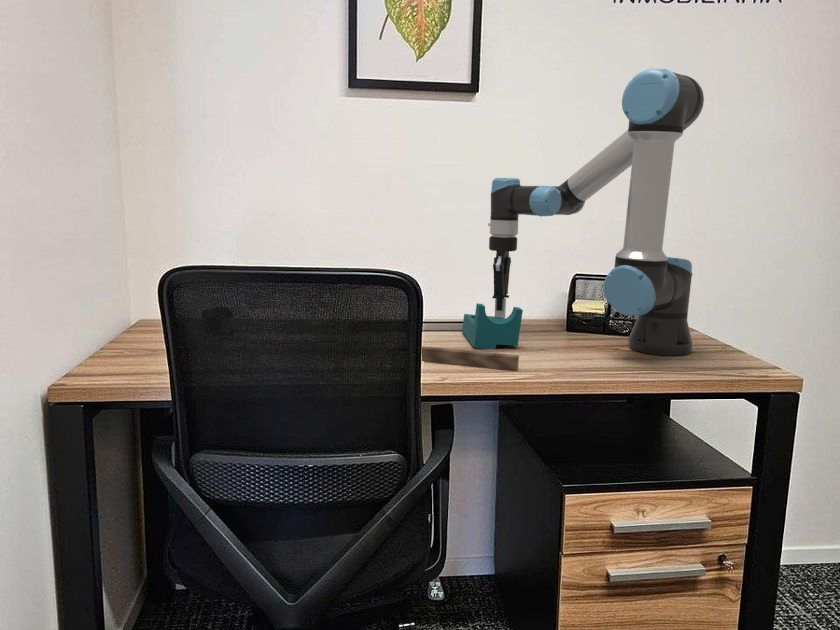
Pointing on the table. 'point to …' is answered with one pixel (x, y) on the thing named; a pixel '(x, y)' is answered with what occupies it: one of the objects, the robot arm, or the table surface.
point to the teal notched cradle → (492, 328)
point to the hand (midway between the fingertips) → (499, 321)
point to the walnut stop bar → (470, 358)
